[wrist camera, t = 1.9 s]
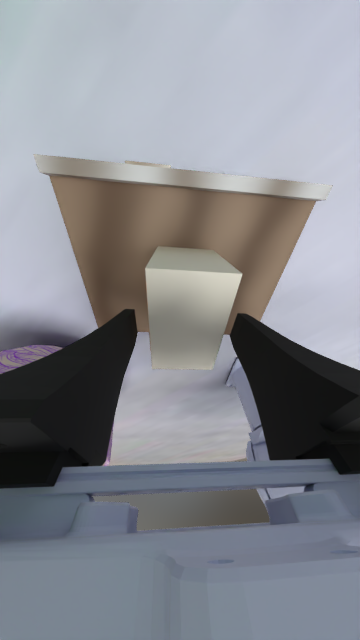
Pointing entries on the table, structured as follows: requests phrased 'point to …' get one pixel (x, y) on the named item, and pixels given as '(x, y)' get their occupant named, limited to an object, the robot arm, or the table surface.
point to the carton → (188, 306)
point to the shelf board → (175, 226)
